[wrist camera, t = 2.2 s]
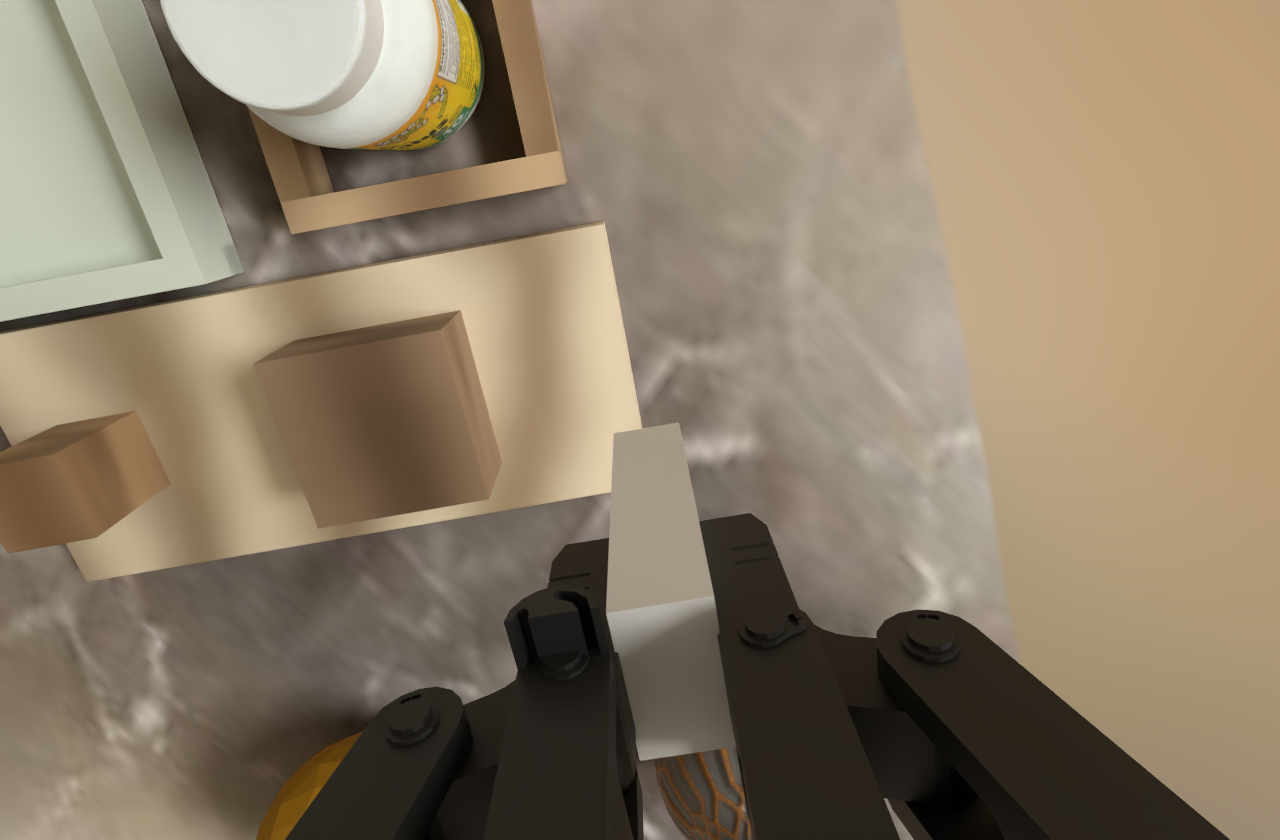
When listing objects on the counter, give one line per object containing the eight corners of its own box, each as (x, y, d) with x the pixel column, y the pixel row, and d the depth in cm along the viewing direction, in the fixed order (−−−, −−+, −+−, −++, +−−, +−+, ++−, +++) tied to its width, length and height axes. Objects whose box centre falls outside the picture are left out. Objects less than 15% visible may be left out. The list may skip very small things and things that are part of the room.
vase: (796, 743, 33) (855, 933, 25) (655, 754, 33) (668, 949, 25) (797, 627, 31) (864, 795, 23) (645, 639, 31) (657, 812, 23)
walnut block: (349, 489, 26) (318, 528, 24) (294, 340, 24) (253, 363, 21) (502, 463, 26) (488, 499, 23) (460, 309, 24) (440, 330, 21)
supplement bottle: (473, -38, 21) (373, -182, 12) (498, 145, 23) (425, 137, 14) (301, -27, 21) (74, -162, 12) (339, 157, 23) (167, 155, 14)
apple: (487, 657, 31) (440, 843, 22) (523, 800, 34) (494, 1010, 26) (291, 681, 31) (170, 875, 23) (345, 822, 34) (257, 1038, 26)
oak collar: (316, 228, 24) (291, 234, 22) (216, -73, 21) (177, -96, 19) (567, 182, 24) (563, 183, 22) (505, -130, 21) (494, -159, 19)
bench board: (107, 565, 28) (3, 648, 24) (-16, 334, 25) (-169, 376, 20) (650, 471, 28) (658, 537, 23) (604, 221, 24) (601, 236, 19)
